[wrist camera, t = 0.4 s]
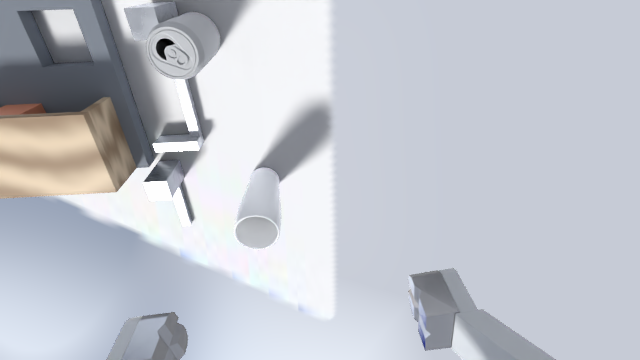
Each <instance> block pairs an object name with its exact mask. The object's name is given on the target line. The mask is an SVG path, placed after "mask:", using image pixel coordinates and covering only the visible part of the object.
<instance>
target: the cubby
mask: <svg viewBox="0 0 640 360" xmlns="http://www.w3.org/2000/svg"><path fill="white" fill-rule="evenodd" d="M136 168H137V167H136V165H135V162H134V159H133V157H132V154H131V151H130V149H129V146H128V143H127V141H126V138H125V135H124V133H123V130H122V127H121V125H120V122H119V119H118V117H117V114H116V111H115V109H114V106H113V103H112V101H111V98H110V97H103V98H101V99H100V100H98V101H97V102H95V103H93V104H92V105H90V106H89V107H87V108H86V109H84V110H82V111H81V112H65V113H43V114H21V115H0V198H16V197H17V198H18V197H37V196H55V195H73V194H91V193H109V192H117V191H118V190H119V189H120V187H121V186H122V185H123V184H124V182H125V181H126V180H127V179H128V178H129V176H130V175H131V174H132V173H133V172H134V170H135V169H136Z"/></svg>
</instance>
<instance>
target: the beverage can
mask: <svg viewBox="0 0 640 360" xmlns="http://www.w3.org/2000/svg"><path fill="white" fill-rule="evenodd" d="M163 38H164V39H163ZM173 42H174V43H175V44H174V43H173ZM219 47H220V34H219V31H218V29H217V27H216V25H215V24H214V22H213V21H212V20H211V19H210V18H208V17H207V16H205V15H203V14H201V13H198V12H187V13H185V14H182V15H180V16H177V17H174V18H172V19H169V20H167V21H164V22H162V23H159V24H157V25H156V26H154V27H153V28H152V30H151V31H150V33H149V35H148V38H147V43H146V52H147V56H148V58H149V61H150V62H151V64H152V65H153V67H154V68H155V69H156V70H157V71H158V72H160V73H161V74H162V75H164V76H166V77H169V78H172V79H189V78H191V77H194V76H195V75H197V74H198V73H199V72H200V71H201V70H202V69H203V67H204V66H205V65H206V64H207V63H208V62H209V61H210V60H211V59H212V58H213V57H214V56H215V55H216V53H217V52H218V50H219Z"/></svg>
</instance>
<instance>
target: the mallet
mask: <svg viewBox="0 0 640 360" xmlns="http://www.w3.org/2000/svg"><path fill="white" fill-rule="evenodd" d="M183 179H184V173H183V170H182V166H181V163H180V160H167V161H159V162H158V163H157V165H156V166H155V167H154V169H153V170H152V171H151V173H150V174H149V175H148V177H147V178H146V180H145V181H144V182H143V183H144V186H145V189H146V191H147V194H148V197H149V199H150V201H156V200H172V199H173V197H174V200H175V204H176V207H177V210H178V213H179V216H180V219H181V222H182V225H183V226H191V223H192V219H191V216H190V212H189V209H188V206H187V202H186V199H185V196H184V192H183V189H182V186H181V183H182V181H183Z"/></svg>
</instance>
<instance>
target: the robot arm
mask: <svg viewBox="0 0 640 360" xmlns="http://www.w3.org/2000/svg"><path fill="white" fill-rule="evenodd" d="M408 282H409V286H410V288H411V289H410V290H409V291H408V292H409V302H410V307H411V311H412V314H413V317H414V319H415V320H416V321H417V322H418V332H419V334H420V337H421V340H422V343H423V346H424V349H425V351H426V350H434V349H442V348H450V347H452V350H453V351H454V352H455V353H456V354H457V355H459V357H460V358H462V359H463V360H556V359H554V358H553V357H551V356H550V355H548V354H547V353H545V352H544V351H543V350H541V349H540V348H538V347H537V346H535V345H534V344H532V343H531V342H529V341H528V340H526V339H525V338H524V337H522V336H520V335H519V334H518V333H516V332H515V331H513V330H512V329H510V328H509V327H507V326H506V325H504V324H503V323H502V322H500V321H499V320H497V319H496V318H494V317H493V316H491V315H490V314H488V313H487V312H486V311H484V310H478V309H477V308H476V306H475V304H474V302H473V300H472V298H471V297H470V295H469V293H468V291H467V289H466V287H465V286H464V284H463V282H462V280H461V278H460V277H459V275H458V273H457V271H456V270H455V269H454V268H452V269H445V270H439V271H431V272H425V273H419V274H413V275H409V277H408ZM177 321H178V316H177V315H176V314H175V312H171V313H163V314H156V315H148V316H140V317H134V318H129V319H128V320H127V321H126V322H125V323H124V325H123V327H122V329H121V331H120V333H119V335H118V337H117V339H116V341H115V343H114V345H113V347H112V349H111V351H110V353H109V355H108V357H107V359H106V360H180V359H181V358H182V356H183V355H184V354H185V352H186V348H187V341H188V336H187V332H186V329H185V327H184V326H183V325H181V324H179V323H177Z"/></svg>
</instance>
